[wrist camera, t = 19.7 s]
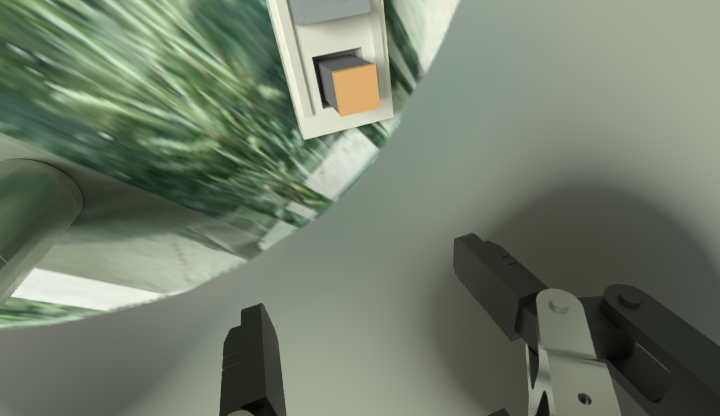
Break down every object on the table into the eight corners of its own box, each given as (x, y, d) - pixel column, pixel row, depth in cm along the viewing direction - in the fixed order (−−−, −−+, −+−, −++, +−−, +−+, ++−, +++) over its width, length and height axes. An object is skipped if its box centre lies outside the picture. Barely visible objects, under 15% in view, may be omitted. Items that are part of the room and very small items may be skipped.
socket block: (299, 130, 43) (304, 141, 39) (256, -36, 33) (257, -43, 29) (383, 109, 45) (395, 118, 41) (365, -53, 35) (379, -61, 31)
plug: (315, 60, 38) (334, 73, 30) (349, 54, 39) (375, 64, 31) (322, 96, 41) (341, 116, 32) (354, 89, 41) (380, 108, 33)
